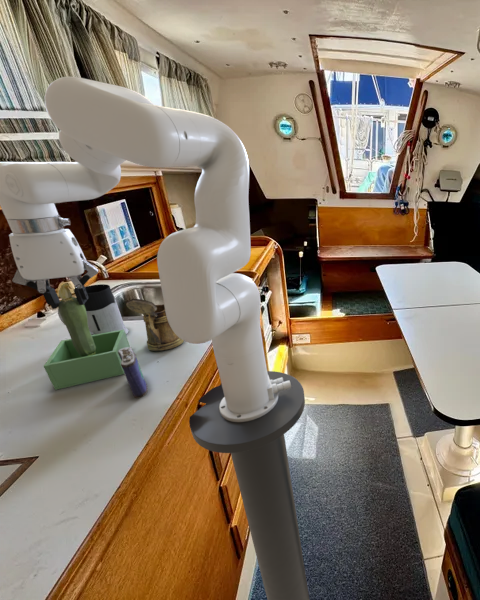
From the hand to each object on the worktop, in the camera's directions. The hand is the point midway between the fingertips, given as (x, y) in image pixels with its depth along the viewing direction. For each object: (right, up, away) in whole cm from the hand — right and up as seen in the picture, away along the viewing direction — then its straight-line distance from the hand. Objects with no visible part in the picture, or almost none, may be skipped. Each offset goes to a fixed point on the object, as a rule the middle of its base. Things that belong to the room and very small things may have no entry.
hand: (70, 303), depth 75 cm
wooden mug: (+9, -13, +17) cm, 23 cm away
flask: (+15, -20, +1) cm, 25 cm away
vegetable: (-1, -14, +6) cm, 15 cm away
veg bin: (-1, -17, +7) cm, 18 cm away
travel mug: (-11, -11, +20) cm, 25 cm away
